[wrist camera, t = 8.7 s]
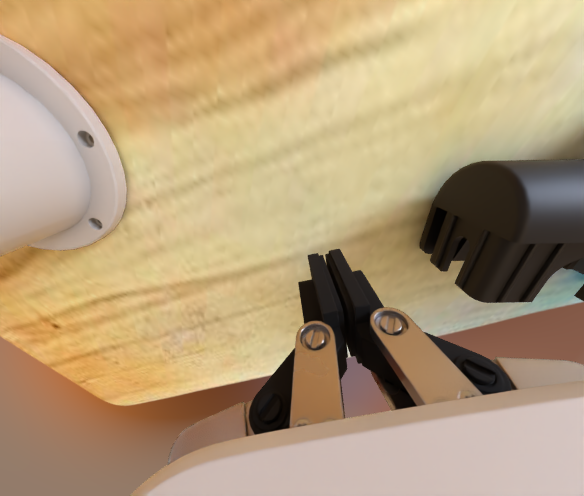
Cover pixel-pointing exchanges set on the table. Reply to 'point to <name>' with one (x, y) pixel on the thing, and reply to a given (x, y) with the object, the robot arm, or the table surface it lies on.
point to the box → (579, 266)
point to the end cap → (508, 226)
